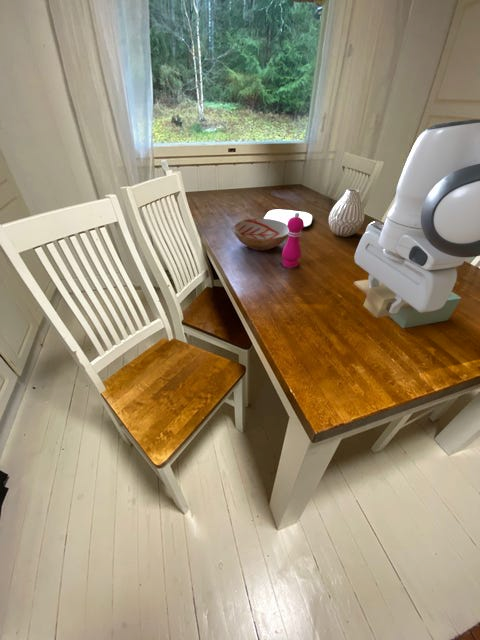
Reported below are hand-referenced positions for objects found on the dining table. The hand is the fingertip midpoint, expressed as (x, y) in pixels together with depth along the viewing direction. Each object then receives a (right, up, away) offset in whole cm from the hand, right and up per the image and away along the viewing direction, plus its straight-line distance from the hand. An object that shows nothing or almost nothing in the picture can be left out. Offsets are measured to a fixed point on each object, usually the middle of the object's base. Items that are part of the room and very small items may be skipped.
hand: (381, 303), depth 55 cm
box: (+24, 0, +30) cm, 39 cm away
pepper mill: (-9, +19, +54) cm, 58 cm away
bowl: (-20, +30, +68) cm, 77 cm away
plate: (-2, +51, +94) cm, 107 cm away
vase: (+22, +39, +80) cm, 92 cm away
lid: (+15, +5, +23) cm, 28 cm away
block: (0, -1, +1) cm, 2 cm away
